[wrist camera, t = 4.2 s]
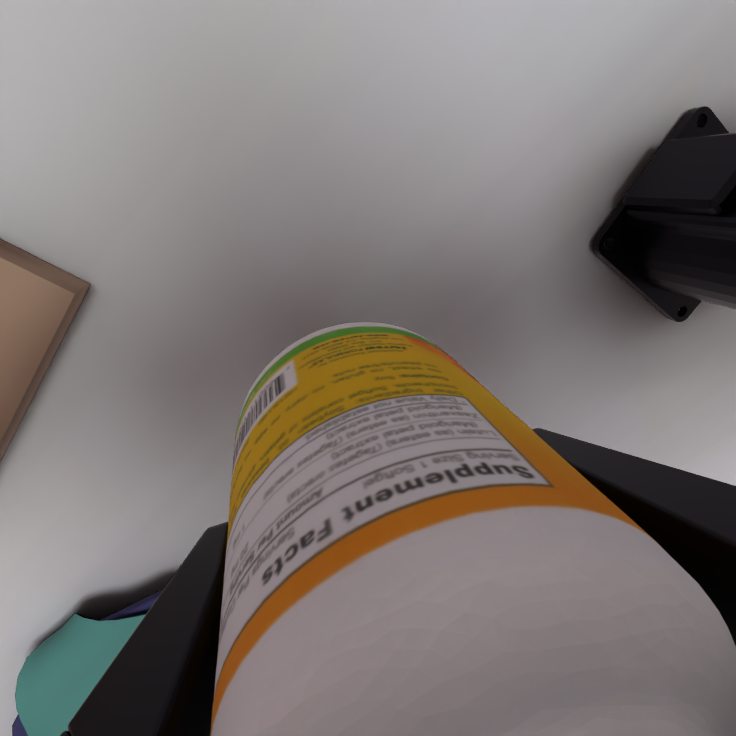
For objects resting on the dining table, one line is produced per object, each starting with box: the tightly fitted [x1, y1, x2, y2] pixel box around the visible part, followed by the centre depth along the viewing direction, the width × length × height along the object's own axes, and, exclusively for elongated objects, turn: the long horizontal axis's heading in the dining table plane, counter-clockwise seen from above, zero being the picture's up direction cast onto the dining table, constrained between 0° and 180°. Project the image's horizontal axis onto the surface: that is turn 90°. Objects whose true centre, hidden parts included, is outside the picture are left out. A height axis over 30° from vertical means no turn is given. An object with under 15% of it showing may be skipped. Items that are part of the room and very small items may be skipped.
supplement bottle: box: [210, 322, 736, 736], centre depth 6 cm, size 5×5×10 cm
